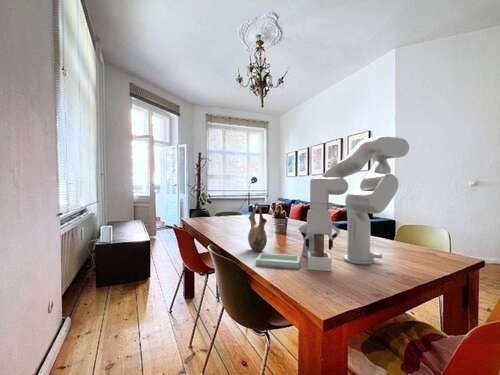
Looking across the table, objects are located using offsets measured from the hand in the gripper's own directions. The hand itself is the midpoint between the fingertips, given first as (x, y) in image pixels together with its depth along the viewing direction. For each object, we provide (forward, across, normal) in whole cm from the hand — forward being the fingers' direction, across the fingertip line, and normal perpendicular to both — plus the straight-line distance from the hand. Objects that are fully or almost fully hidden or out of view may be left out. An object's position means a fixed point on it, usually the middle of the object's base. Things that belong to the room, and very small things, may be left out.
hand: (318, 248), depth 104 cm
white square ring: (+8, 0, 0) cm, 8 cm away
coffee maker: (+8, +3, -17) cm, 19 cm away
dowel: (+8, 0, 0) cm, 8 cm away
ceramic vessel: (+8, +30, -19) cm, 36 cm away
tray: (+8, +17, -1) cm, 19 cm away
